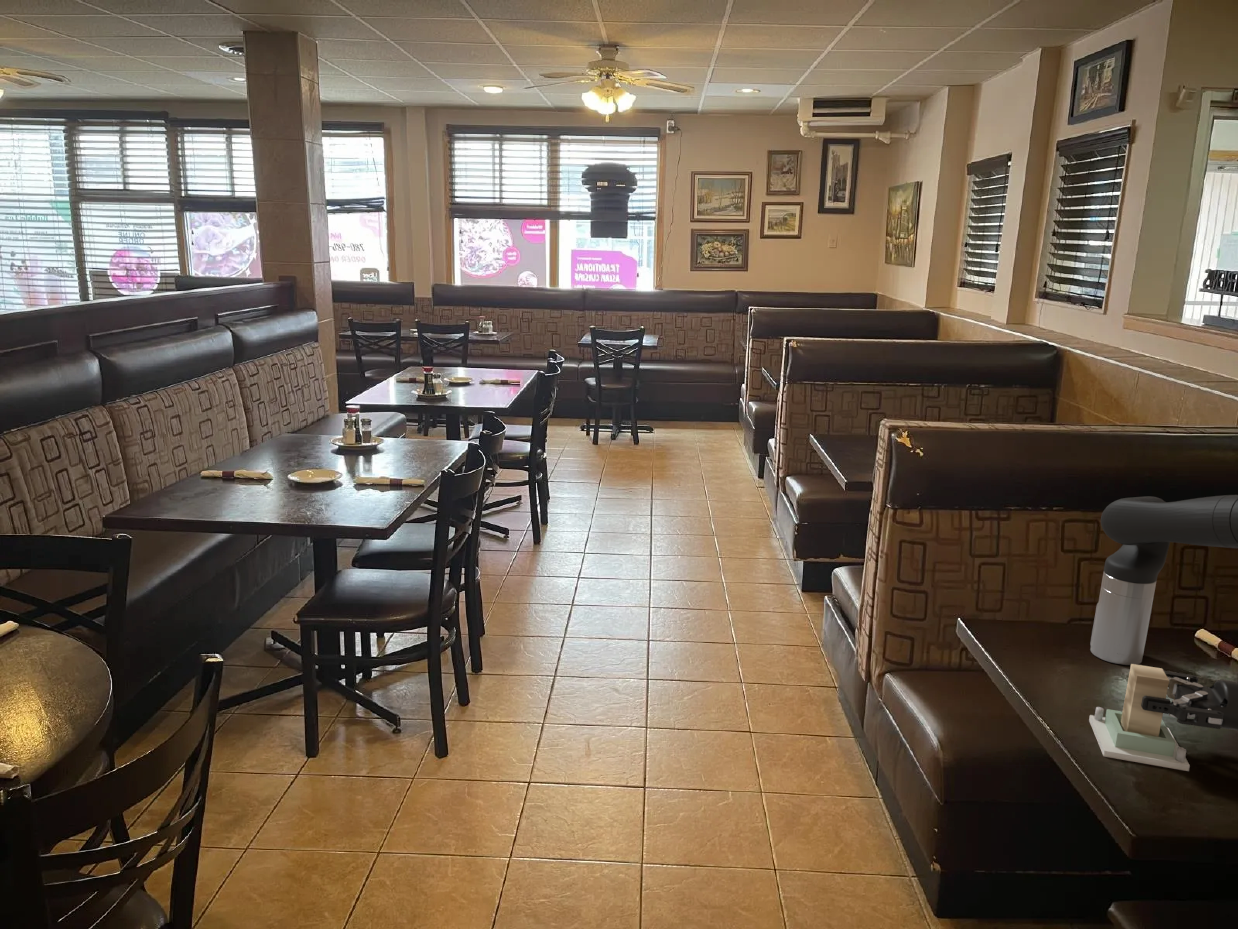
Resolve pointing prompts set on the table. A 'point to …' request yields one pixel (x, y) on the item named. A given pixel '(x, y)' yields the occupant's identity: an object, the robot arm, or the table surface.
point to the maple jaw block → (1140, 685)
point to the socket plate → (1136, 742)
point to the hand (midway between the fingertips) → (1135, 690)
